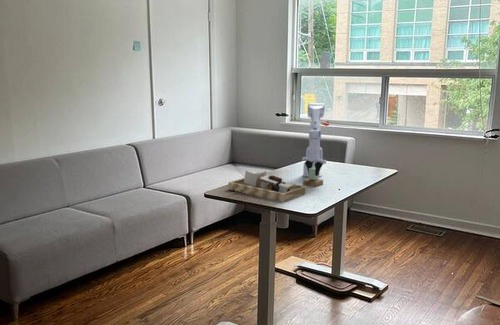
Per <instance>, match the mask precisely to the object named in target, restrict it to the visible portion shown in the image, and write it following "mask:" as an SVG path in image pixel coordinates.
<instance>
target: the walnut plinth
mask: <svg viewBox="0 0 500 325" xmlns="http://www.w3.org/2000/svg"><path fill="white" fill-rule="evenodd" d="M302 182H303V184H302V186H306V187H307V186H308V187H313V188H317V187H319V186H323V185H324V179H319V178H318V179H316V180H312V179H309V178H307V179H303V181H302Z"/></svg>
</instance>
